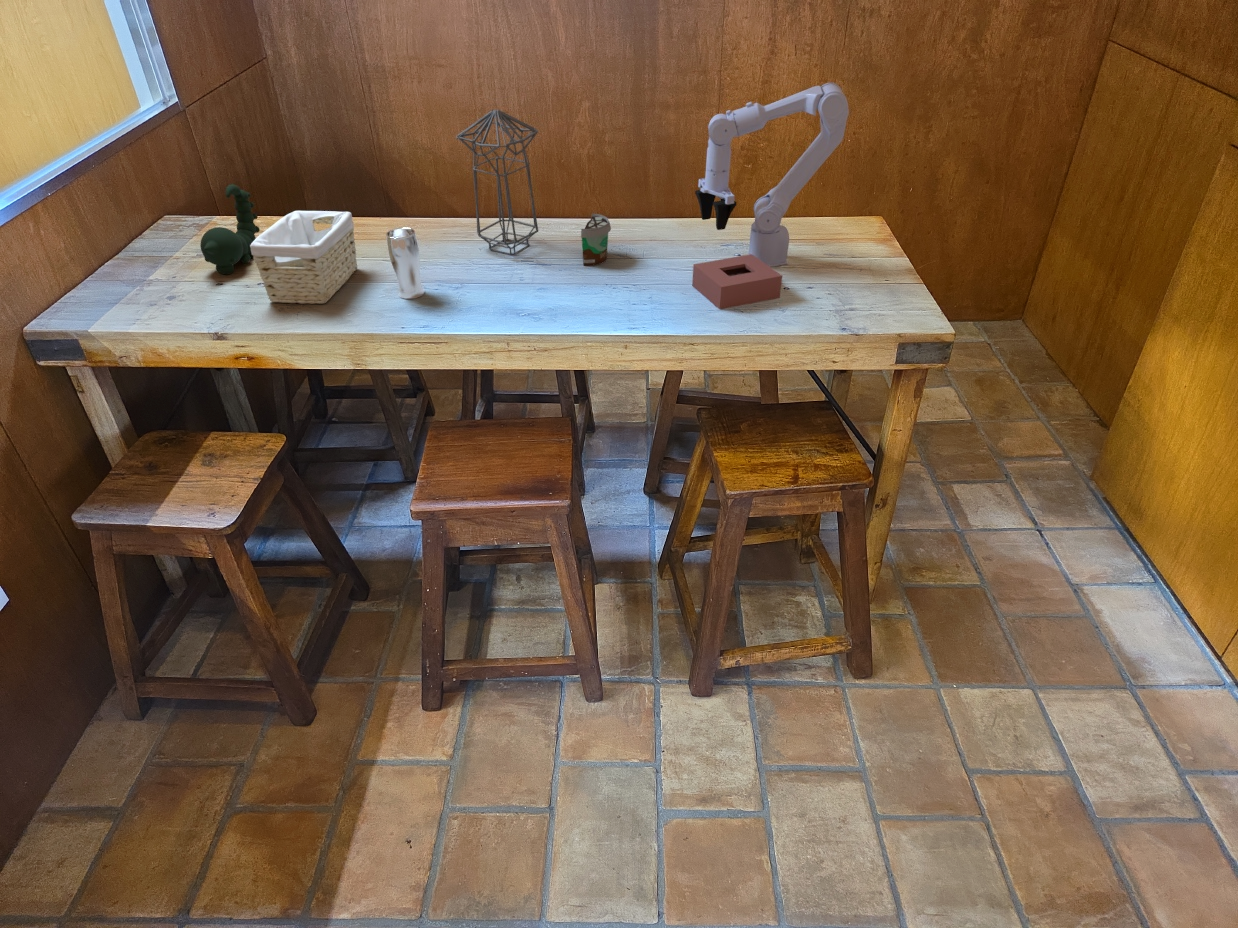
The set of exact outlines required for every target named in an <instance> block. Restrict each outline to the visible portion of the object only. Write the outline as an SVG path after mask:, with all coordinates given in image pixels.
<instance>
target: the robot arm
mask: <svg viewBox="0 0 1238 928" xmlns="http://www.w3.org/2000/svg"><path fill="white" fill-rule="evenodd" d="M848 103H849V102H848V98H847V97H846V94H844V93H843V90H842V87H840V86H839V85H838V84H836V83H835V82H827V83H824V84H822V85H821V86H820V85H815V86H812V87H809V88H807V89H805V90H802V91H800V92H796V93H795V94H792V95H789V96H786V97H785V98H782V99H779V100H777V101H775V102H772V103H768V104H766V105H763V104H760V103H759V102H755V103H753V102H752V101H749V102H747V103H746V104H745V105H746V106H744V107H740V108H738V109H734V110H731V109H729V110H726V111H725V114H724V113H718V114H715V115H714V116H712V118H711V119H710V121H709V124H707V128H708V136H709V137H708V140H707V148H706V163H705V173H704V176H705V177H704V178H703V177H702V178H699V179H698V185H697V186H698V188H699V189H697V190H695V191H694V194H695V197H696V198H697V200H698V203H699V209H700V214H701V216H700V217H701V220H703V221H706V220H710V219H711V217H712V214H713V213H712V212H713V207H714V211H715V227H716V230H717V231H721V230H726V227H727V224H728V222H729V219H730V217H731V215H732V212H733V210H734V209H735V208H736V206H737V203H738V202H737V201H735V194H733V193H732V191H731V189H730V187H729V181H730V180H729V179H730V171H731V170H730V168H731V159H732V157H731V156H732V148H731V145H732V144H731V143H732V140H733V138H738V137H741V136H744V135H748V134H750V133H753V132H756V131H759V130H762V129H764V128H765V125H766V124H767V123H768V121H772V120H775V119H778V118H781V117H786V116H790V115H792V114H795V113H801V112H804V113H807V114H810V115H812V116H816V115H817V114H816V112H817V111H818V113H819V117H820V118H819V121H820V132H819V134H818V135H817V136H816V137H815V139H814V140H813V141H812V142H811V143H810V145H809V146H808V147H807V148H806V150H805V151H804V152H803V154H801V156H800V157H799V158H798V159H797V161H796V162H795V163H794V165H793V166H792V167H790V169H789V170H788V172H787V173H786V174H785V175H784V177H783V178H781V180H780V182H778V183H777V185H776V186H775V187H773V188H771V189H770V190H769V191H768V192H767V193H766V194H765V195H763V196H761V197H759V198H758V199H757V200H756V201H755V203H754V205H753V213H754V221H753V223H752V224H751V227H750V235H749V236H750V237H749V244H748V254H747V255H750V254H752V255H754V256H755V257H757V258H758V259H759V260H761V261H762V262H764V263H765V264H767V265H768V266H769V267H771V268H774V267H778V266H784V265H788V264H789V261H788V259H787V258H788V252H789V245H790V233H789V230H788V229H787V227H786V226H785V225H783V224H781V222H782V219H783V217H784V215H785V214H786V213H787V211H788V209H789V207H790V205H791V202H792V201H793V199H795V197H796V196H797V195H798V194H799V192H801V190H802V189H803V188H804V186H806V184H807V183H808V182H809V181H810V180H811V178H812V177H813V176H814V175H815V173H816V172H817V171H818V170H819V169H820V168H821V166H822V165H823V164H824V163H825V162H826V160H827V159H828V158H829V157H830V156H831V154H833V152H834V151H835V150H836V149H837V147H838V146H839V145H840V144H841V143H842V141H843V139H844V135H845V131H846V128H847V127H846V125H847V120H848V117H849V114H850V110H849V109H850V108H849V104H848ZM716 197H717V198H718V199H720V200H716V201H715V199H716Z"/></svg>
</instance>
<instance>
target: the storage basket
mask: <svg viewBox="0 0 1238 928" xmlns="http://www.w3.org/2000/svg"><path fill="white" fill-rule="evenodd" d="M314 224H325V225H326V224H329V225H330V226H331V227H327V228H325V229H322V230H320V231H319V230H318V231H317V230H316V229H315V228H316V227H315V225H314ZM354 225H355V224H354V220H353V215H352V212H350V211H334V210H333V211H331V210H329V211H328V210H325V211H324V210H294V211H292V212H290V213H287V214H286V215H284V216H282V218H280V219H278V220H277V221H276V222H275V223H273V224H272V225H271V226H270V227H268V228H267V229H266V230H264V231H263V232H261V233H260V234H259V235H258V236H257V237H255V238H256V239H255V240H254V241H253V242H252V243H251V245H250V248H251V253H252V255H253V258H252V259H253V261H254V262H255V265H256V268H257V269H258V271H259V275H260V278H261V280H262V282H263V286H264V287H265V288H264V289H265V291H266V294H267V296H268V297H267V299H268V300H269V301H270V302H273V303H283V304H285V303H289V304H296V303H297V304H310V305H311V304H318V305H319V304H320V305H321V304H326V303H327V302H329V301H330V300H331V298H332V297H333V296H334V295H335V293H336V292H337V291H339V290H340V289H341V287H342V286H343V285H345V283H347V282H348V280H349V279H350V278H351V276H352V275H353V274H355V272H356V270H357V269H358V261H357V249H356V242H355V233H354V231H355V230H354V228H355V227H354ZM354 271H355V272H354Z"/></svg>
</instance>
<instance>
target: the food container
mask: <svg viewBox="0 0 1238 928" xmlns="http://www.w3.org/2000/svg"><path fill="white" fill-rule="evenodd" d="M580 230H581V231H580V238H581V246H582V262H583V266H584V267H585V266H586V267H591V266H592V267H593V266H598V265H601V264H603V263H605V262H606V261H607V257H608V243H609V240H608V239H609V233H610V232H611V230H612V227H611V224H610V221H609V218H608V217H607V216H605V215H603V214H599V213H595V212H594V213H591V217H590V219H589V220H588V221H587V223H586V225H585V227H584V228H581V229H580Z"/></svg>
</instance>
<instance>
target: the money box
mask: <svg viewBox="0 0 1238 928" xmlns="http://www.w3.org/2000/svg"><path fill="white" fill-rule="evenodd" d="M737 273H743V274H739V275H734V276H728V275H732V274H737ZM782 281H783V275H782V274H781V273H780V272H778V271H776V270H775V269H773V267H769V266H768V265H767V264H765V263H764V262H762V261H761V260H759V259H758V258H757V257H755V256H754V255H752V254H750V255H748V254H745V255H740V256H733V257H728V258H723V259H716V260H711V261H706V262H700V263H699V262H698V263H694V264H693V267H692V285H691V286H692V287H693V288H694V289H695V290H696V291H698V292H699V293H700V294H701V295H702V296H703V297H704V298H706V299H707V300H708V301H709V302H710V303H712V304H713V306H715V307H716V308H717V309H718V310H722V309H729V308H733V307H734V308H735V307H738V306H739V307H740V306H744V305H749V304H754V303H760V302H765V301H770V300H774V299H779V298H780V296H781V289H782Z"/></svg>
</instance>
